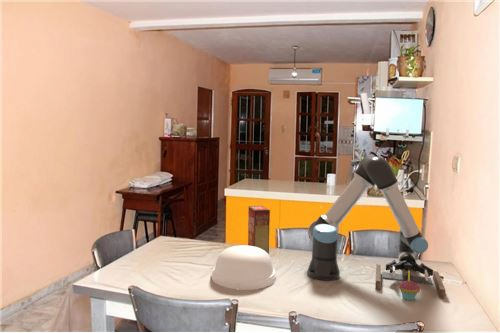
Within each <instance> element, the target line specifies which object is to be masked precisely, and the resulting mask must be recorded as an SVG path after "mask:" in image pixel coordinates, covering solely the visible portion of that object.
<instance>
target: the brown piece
mask: <svg viewBox="0 0 500 333" xmlns="http://www.w3.org/2000/svg"><path fill="white" fill-rule="evenodd" d="M375 267H376V268H375V285H374V287H375V288H374V290H375V291H376V290H377V291H381V282H382V279H385V280H391V281H399V282H402V281H408V274H405V273H404V274H402V273H396V272H395V277H393V272H392V273H390V272H388V271H387V272H385V271H382V265H381V264H376V266H375ZM381 273H382V274H381ZM381 275H382V276H381ZM432 280H433V281H432ZM410 281H413V282H415V283H417V284H422V283H423V284H425V285H433V284H434V287H435V290H436V291H437V296H438V297H439V299H442V300H445V298H446V288H445V286H444V283H443V280H442V277H441V275H440V273H439V271H435V270H433V276H432V277H428V281H426V279H425V276H418V275H412V274H411V275H410ZM423 284H422V285H423Z"/></svg>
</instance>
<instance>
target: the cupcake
mask: <svg viewBox="0 0 500 333" xmlns="http://www.w3.org/2000/svg"><path fill="white" fill-rule="evenodd" d="M410 273H411V271H407V275H408V281H400V283H399V284H398V290H399V291H400V293H401V296H402V298H403V299H404V300H407V301H413V300H415V299H416V297H417V294H419V293H420V292H421V287H420V285H419V283H415V282H413V281H410Z"/></svg>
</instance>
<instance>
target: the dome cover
mask: <svg viewBox="0 0 500 333" xmlns="http://www.w3.org/2000/svg"><path fill="white" fill-rule="evenodd" d="M272 260H273V259H272V258H271V256H270V253H269V254H268V253H267V252H266V251H264V250H263V249H261V248H258V247H254V246H248V244H246V245H244V244H243V245H242V244H241V245H233V246H229V247H227V248H226V249H224V250H222V251H221V252H219V255H218V256H217V259H216V262H215V266H214V267H213V268H212V271H211V280H212V281H213V283H215V284H216V285H218V286H221V287H224V288H226V289H232V290H236V291H241V290H243V291H245V290H246V291H249V290H258V289H259V288H260V289H263V288H267V286H268V287H270V286H272V285H274V284H275V282H276V281H277V272H276V270H275V268H274V265H273V261H272ZM260 289H259V290H260Z"/></svg>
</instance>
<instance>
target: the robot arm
mask: <svg viewBox="0 0 500 333" xmlns="http://www.w3.org/2000/svg"><path fill="white" fill-rule="evenodd" d="M357 166H358V167H357V168H356V170H355V171H354V172H353V176H354V177H353V178H352V180H351V181H350V182H349V184H348V185H347V186H346V187H345V189H344V190H343V191H342V192H341V193H340V195H339V196H338V197H337V199H336V200H335V201H334V203H333V204H332V205H331V206H330V208H329V209H328V210H327V212H326V213H325V214H321V215H319V217H318V218H317V219H316V220H315V221H313V222H312V223H310V225H309V227H308V233H307V234H308V238H309V240H310V242H311V243H312V248H311V249H312V250H311V252H312V253H311V260H310V262H309V264H308V268H307V276H308V277H310V278H312V279H315V280H318V279H319V281H335V280H338V279H339V278H340V275H341V274H340V273H341V272H340V267H339V264H338V260H337V258H338V256H337V255H338V241H339V231H340V225H341V223H342V222H343V221H344V220H345V218H346V217H347V215H348V214H349V213H350V212H351V211H352V209H353V208H354V207H355V205H356V204H357V203H358V201H359V200H360V199H362V196H364V194H365V193H366V192H367V190H368V189H369V188H373V187H374V186H376V187H377V189H378V190H379V191H380V192H382V195H383V197H384V198H385V200H386V203H387V205H388V206H389V209H390V211H391V213H392V214H393V217H394V219H395V220H396V223H397V224H398V227H399V231H398V233H399V234H398V235H399V238H398V240H399V241H398V242H399V243H398V249H397V250H398V251H397V257H398V261H396V260H395V259H393V260H392V261H391V262H389V263H386V264H385V270H386V271H389V273H393V277H395V273H396V271H399V270H401V271H404V272H405V271H406V272H408V271H410V272H411V271H413V272H418V273H420V274H423V275H424V276H423V277H425V279H426V281H428V277H429V278H431V277H433V272H434V269H432V268H431V267H429V266H427V265H425V264H424V263H420V264H418V263H417V260H416V257H415V253H417V254H424V253H425V252H427V251H428V249H429V242H428V241H427V239H426V238H424V237H423V235H422V232H421V231H420V229H419V227H418V225H417V223H416V221H415V219H414V217H413V215H412V213H411V210H410V208H409V206H408V205H407V204H408V203H406V200H405V198H404V196H403V195H402V194H403V193H402V192H401V190H400V188H399V186H398V179H397V177H396V175H395V171H393V168H392V167H391V165H390V163H389V162H388V160H387V159H385V158H383V157H380V156H379V157H378V156H376V155H367V156H365V157H363V158H361V159H360V160H359V163H358V165H357ZM430 276H431V277H430Z"/></svg>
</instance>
